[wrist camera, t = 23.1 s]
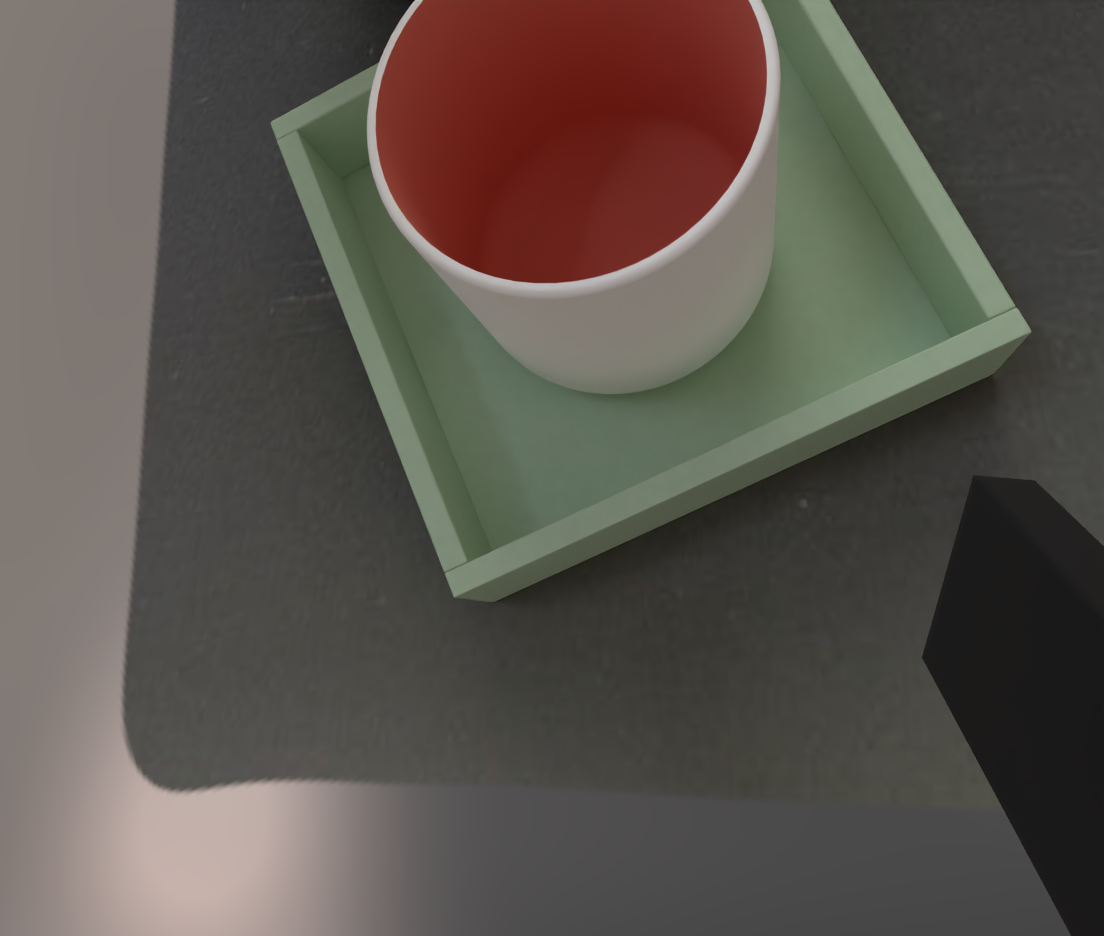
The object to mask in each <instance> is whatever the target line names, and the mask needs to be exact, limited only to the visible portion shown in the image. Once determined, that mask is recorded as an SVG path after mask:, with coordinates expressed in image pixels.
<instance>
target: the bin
mask: <svg viewBox="0 0 1104 936" xmlns="http://www.w3.org/2000/svg"><path fill="white" fill-rule="evenodd" d="M761 1H762V3H763V5H764V7H765V9H766V11H767V13H768V15H769V18H770V21H771V24H772V27H773V29H774V33H775V37H776V41H777V46H778V52H779V58H780V73H781V84H780V110H779V135H778V161H777V186H776V209H775V232H774V251H773V258H772V264H771V268H770V272H769V277H768V280H767V283H766V285H765V288H764V291H763V293H762V296H761V298H760V300H759V302H758V304H757V306H756V308H755V310H754V311H753V313H752V315H751V317H750V318H749V320H748V321H747V323H746V324H745V325H744V327H743V328H742V329H741V331H740V332H739V333H738V334H737V336H736V337H735V338H734V339H733V340H732V341H731V342H730V343H729V344H728V345H727V346H726V347H725V348H724V349H723V350H722V351H721V352H720V353H719V354H718V355H716V356H715V357H714V358H713V359H711V360H710V361H709V362H707V363H706V364H705V365H703V366H702V367H700V368H699V369H697V370H695V371H694V372H692V373H690V374H688V375H687V376H685V377H682V378H680V379H678V380H676V381H674V382H672V383H669V384H666V385H663V386H660V387H657V388H653V389H649V390H645V391H641V392H634V393H626V394H598V393H588V392H582V391H578V390H574V389H569V388H566V387H563V386H560V385H558V384H555V383H552V382H550V381H548V380H546V379H544V378H542V377H540V376H538V375H536V374H534V373H533V372H531V371H530V370H528V369H527V368H525V367H524V366H523V365H521V364H520V363H519V362H518V361H516V360H515V359H514V358H513V357H512V356H511V355H510V354H509V353H508V352H507V351H506V350H505V349H504V348H503V347H502V346H501V345H500V344H499V343H498V342H497V340H496V339H495V338H494V337H493V336H492V335H491V334H490V333H489V331H488V330H487V329H486V328H485V327H484V326H483V325H482V323H481V322H480V321H479V320H478V319H477V318H476V317H475V316H474V314H473V313H472V312H471V311H470V310H469V309H468V308H467V306H466V305H465V304H464V303H463V302H462V301H461V300H460V299H459V297H458V296H457V295H456V294H455V293H454V292H453V291H452V290H451V288H450V287H449V286H448V285H447V284H446V283H445V282H444V281H443V279H442V278H441V277H440V276H439V275H438V274H437V273H436V272H435V270H434V269H433V268H432V267H431V266H430V265H429V264H428V263H427V261H426V260H425V259H424V258H423V257H422V256H421V255H420V253H419V252H418V251H417V250H416V249H415V248H414V247H413V246H412V244H411V243H410V242H409V241H408V240H407V239H406V237H405V236H404V235H403V234H402V233H401V231H400V230H399V229H398V227H397V226H396V224H395V223H394V221H393V220H392V218H391V217H390V215H389V213H388V211H387V209H386V207H385V206H384V204H383V202H382V199H381V197H380V194H379V192H378V189H377V187H376V183H375V180H374V177H373V174H372V170H371V165H370V161H369V153H368V146H367V114H368V106H369V98H370V93H371V89H372V84H373V80H374V77H375V74H376V70H377V67H378V64H379V63H377V64H375V65H373V66H372V67H370V68H368V69H366V70H364V71H362V72H361V73H359V74H357V75H355V76H353V77H352V78H350V79H348V80H346V81H344V82H342V83H341V84H339V85H337V86H335V87H333V88H332V89H330V90H328V91H326V92H324V93H322V94H321V95H319V96H317V97H315V98H313V99H312V100H310V101H308V102H306V103H304V104H302V105H301V106H299V107H297V108H295V109H293V110H292V111H290V112H288V113H286V114H284V115H282V116H281V117H279V118H277V119H275V120H273V121H272V122H271V126H272V129H273V131H274V134H275V137H276V139H277V140H278V141H277V142H278V145H279V148H280V150H281V153H282V155H283V158H284V160H285V163H286V166H287V168H288V171H289V173H290V176H291V178H292V181H293V184H294V186H295V189H296V191H297V194H298V197H299V199H300V202H301V204H302V207H303V209H304V212H305V215H306V217H307V220H308V222H309V225H310V227H311V230H312V233H313V235H314V238H315V240H316V243H317V246H318V248H319V251H320V253H321V256H322V258H323V261H324V264H325V266H326V269H327V271H328V274H329V276H330V279H331V282H332V284H333V287H334V289H335V292H336V295H337V297H338V300H339V302H340V305H341V307H342V310H343V313H344V315H345V318H346V320H347V323H348V326H349V328H350V331H351V333H352V336H353V338H354V341H355V344H356V346H357V349H358V351H359V354H360V356H361V359H362V362H363V364H364V367H365V369H366V372H367V375H368V377H369V380H370V382H371V385H372V387H373V390H374V393H375V395H376V398H377V400H378V403H379V405H380V408H381V411H382V413H383V416H384V418H385V421H386V424H387V426H388V429H389V431H390V434H391V436H392V439H393V442H394V444H395V447H396V449H397V452H398V454H399V457H400V460H401V462H402V465H403V467H404V470H405V473H406V475H407V478H408V480H409V483H410V485H411V488H412V491H413V493H414V496H415V498H416V501H417V503H418V506H419V509H420V511H421V514H422V516H423V519H424V522H425V524H426V527H427V529H428V532H429V534H430V537H431V540H432V542H433V545H434V547H435V550H436V553H437V555H438V558H439V560H440V563H441V565H442V568H443V571H444V572H445V576H446V579H447V581H448V584H449V586H450V589H451V591H452V594H453V597H454V598H462V599H470V600H478V601H486V602H495V601H497V600H500V599H502V598H504V597H506V596H508V595H511V594H513V593H515V592H517V591H519V590H521V589H524V588H526V587H528V586H530V585H532V584H535V583H537V582H539V581H541V580H543V579H546V578H548V577H550V576H552V575H554V574H557V573H559V572H561V571H563V570H565V569H567V568H570V567H572V566H574V565H576V564H578V563H581V562H583V561H585V560H587V559H589V558H592V557H594V556H596V555H598V554H600V553H603V552H605V551H607V550H609V549H611V548H613V547H616V546H618V545H620V544H622V543H624V542H627V541H629V540H631V539H633V538H635V537H638V536H640V535H642V534H644V533H646V532H649V531H651V530H653V529H655V528H657V527H659V526H662V525H664V524H666V523H668V522H670V521H673V520H675V519H677V518H679V517H681V516H684V515H686V514H688V513H690V512H692V511H695V510H697V509H699V508H701V507H703V506H705V505H708V504H710V503H712V502H714V501H716V500H719V499H721V498H723V497H725V496H727V495H730V494H732V493H734V492H736V491H738V490H740V489H743V488H745V487H747V486H749V485H751V484H754V483H756V482H758V481H760V480H762V479H765V478H767V477H769V476H771V475H773V474H776V473H778V472H780V471H782V470H784V469H786V468H789V467H791V466H793V465H795V464H797V463H800V462H802V461H804V460H806V459H808V458H811V457H813V456H815V455H817V454H819V453H822V452H824V451H826V450H828V449H830V448H832V447H835V446H837V445H839V444H841V443H843V442H846V441H848V440H850V439H852V438H854V437H857V436H859V435H861V434H863V433H865V432H868V431H870V430H872V429H874V428H876V427H878V426H881V425H883V424H885V423H887V422H889V421H892V420H894V419H896V418H898V417H900V416H903V415H905V414H907V413H909V412H911V411H914V410H916V409H918V408H920V407H922V406H924V405H927V404H929V403H931V402H933V401H935V400H938V399H940V398H942V397H944V396H946V395H949V394H951V393H953V392H955V391H957V390H959V389H962V388H964V387H966V386H968V385H970V384H973V383H975V382H977V381H979V380H981V379H984V378H986V377H988V376H990V375H992V374H994V372H995V371H996V370H997V369H998V368H999V367H1000V366H1001V365H1002V364H1003V363H1004V362H1005V361H1006V360H1007V359H1008V357H1009V356H1010V355H1011V354H1012V353H1013V352H1014V351H1015V350H1016V349H1017V347H1018V346H1019V345H1020V344H1021V343H1022V342H1023V341H1024V340H1025V339H1026V338H1027V336H1028V335H1029V334H1030V333H1031V329H1030V328H1029V326H1028V324H1027V323H1026V321H1025V319H1024V318H1023V316H1022V314H1021V313H1020V311H1019V310H1018V308H1015V304H1014V303H1013V301H1012V299H1011V298H1010V296H1009V294H1008V293H1007V291H1006V290H1005V288H1004V286H1003V285H1002V283H1001V281H1000V280H999V278H998V276H997V275H996V273H995V271H994V270H993V268H992V267H991V265H990V263H989V262H988V260H987V258H986V257H985V255H984V253H983V252H982V250H981V248H980V247H979V245H978V244H977V242H976V240H975V239H974V237H973V235H972V234H971V232H970V230H969V229H968V227H967V225H966V224H965V222H964V221H963V219H962V217H961V216H960V214H959V212H958V211H957V209H956V207H955V206H954V204H953V203H952V201H951V199H950V198H949V196H948V194H947V193H946V191H945V189H944V188H943V186H942V184H941V183H940V181H939V180H938V178H937V176H936V175H935V173H934V171H933V170H932V168H931V166H930V165H929V163H928V161H927V160H926V158H925V157H924V155H923V153H922V152H921V150H920V148H919V147H918V145H917V143H916V142H915V140H914V138H913V137H912V135H911V134H910V132H909V130H908V129H907V127H906V125H905V124H904V122H903V120H902V119H901V117H900V115H899V114H898V112H897V111H896V109H895V107H894V106H893V104H892V102H891V101H890V99H889V97H888V96H887V94H886V93H885V91H884V89H883V88H882V86H881V84H880V83H879V81H878V79H877V78H876V76H875V74H874V73H873V71H872V70H871V68H870V66H869V65H868V63H867V61H866V60H865V58H864V56H863V55H862V53H861V51H860V50H859V48H858V47H857V45H856V43H855V42H854V40H853V38H852V37H851V35H850V33H849V32H848V30H847V28H846V27H845V25H844V24H843V22H842V20H841V19H840V17H839V15H838V14H837V12H836V10H835V9H834V7H833V6H832V4H831V2H830V1H829V0H761Z"/></svg>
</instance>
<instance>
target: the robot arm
mask: <svg viewBox="0 0 1104 936" xmlns="http://www.w3.org/2000/svg"><path fill="white" fill-rule="evenodd" d="M922 658H923V660H924V662H925V664H926V666H927V668H928V670H929V671H930V673H931V675H932V677H933V679H934V681H935V683H936V685H937V686H938V688H939V690H940V692H941V694H942V696H943V698H944V699H945V701H946V703H947V705H948V707H949V709H950V711H951V712H952V714H953V716H954V718H955V720H956V722H957V724H958V726H959V727H960V729H961V731H962V733H963V735H964V737H965V739H966V740H967V742H968V744H969V746H970V748H971V750H972V752H973V753H974V755H975V757H976V759H977V761H978V763H979V765H980V767H981V768H982V770H983V772H984V774H985V776H986V778H987V780H988V781H989V783H990V785H991V787H992V789H993V791H994V793H995V795H996V796H997V798H998V800H999V802H1000V804H1001V806H1002V808H1003V809H1004V811H1005V813H1006V815H1007V817H1008V819H1009V821H1010V822H1011V824H1012V826H1013V828H1014V830H1015V832H1016V834H1017V835H1018V837H1019V839H1020V841H1021V843H1022V845H1023V847H1024V849H1025V850H1026V852H1027V854H1028V856H1029V858H1030V859H1031V862H1032V863H1033V865H1034V867H1035V869H1036V871H1037V873H1038V875H1039V876H1040V878H1041V880H1042V882H1043V884H1044V886H1045V888H1046V890H1047V891H1048V893H1049V895H1050V897H1051V899H1052V901H1053V903H1054V904H1055V906H1056V908H1057V910H1058V912H1059V914H1060V916H1061V918H1062V919H1063V921H1064V923H1065V925H1066V927H1067V929H1068V931H1069V932H1070V934H1071V936H1104V546H1103V545H1102V544H1101V543H1100V542H1099V541H1098V540H1096V539H1095V538H1094V537H1093V536H1092V535H1091V534H1090V533H1089V532H1088V531H1087V530H1086V529H1085V528H1084V527H1083V526H1082V525H1081V524H1080V523H1079V522H1078V521H1077V520H1076V519H1075V518H1073V517H1072V516H1071V515H1070V514H1069V513H1068V512H1067V511H1066V510H1065V509H1064V508H1063V507H1062V506H1061V505H1060V504H1059V503H1058V502H1057V501H1056V500H1055V499H1054V498H1053V497H1052V496H1050V495H1049V494H1048V493H1047V492H1046V491H1045V490H1044V489H1043V488H1042V487H1041V486H1040V485H1039V484H1038V483H1037V482H1036V481H1032V480H1021V479H1009V478H997V477H986V476H974V475H973V479H972V482H971V486H970V489H969V493H968V497H967V500H966V504H965V507H964V511H963V514H962V518H961V521H960V525H959V528H958V532H957V535H956V539H955V543H954V546H953V550H952V553H951V557H950V560H949V564H948V567H947V571H946V574H945V578H944V582H943V585H942V589H941V592H940V596H939V599H938V603H937V606H936V610H935V613H934V617H933V620H932V624H931V628H930V631H929V635H928V638H927V642H926V645H925V649H924V652H923V656H922Z"/></svg>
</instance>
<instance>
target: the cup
mask: <svg viewBox="0 0 1104 936" xmlns="http://www.w3.org/2000/svg"><path fill="white" fill-rule="evenodd" d="M780 84H781V73H780V58H779V52H778V46H777V41H776V37H775V33H774V29H773V27H772V24H771V21H770V18H769V15H768V13H767V11H766V9H765V7H764V5H763V3H762V1H761V0H415V1H414V2H413V3H412V4H411V6H410V7H409V8H408V10H407V11H406V13H405V14H404V16H403V17H402V18H401V20H400V22H399V23H398V25H397V27H396V28H395V30H394V32H393V33H392V35H391V37H390V39H389V41H388V43H387V45H386V47H385V49H384V52H383V54H382V57H381V59H380V62H379V64H378V67H377V70H376V74H375V77H374V80H373V84H372V89H371V93H370V98H369V106H368V114H367V146H368V153H369V161H370V165H371V170H372V174H373V177H374V180H375V183H376V187H377V189H378V192H379V194H380V197H381V199H382V202H383V204H384V206H385V207H386V209H387V211H388V213H389V215H390V217H391V218H392V220H393V221H394V223H395V224H396V226H397V227H398V229H399V230H400V231H401V233H402V234H403V235H404V236H405V237H406V239H407V240H408V241H409V242H410V243H411V244H412V246H413V247H414V248H415V249H416V250H417V251H418V252H419V253H420V255H421V256H422V257H423V258H424V259H425V260H426V261H427V263H428V264H429V265H430V266H431V267H432V268H433V269H434V270H435V272H436V273H437V274H438V275H439V276H440V277H441V278H442V279H443V281H444V282H445V283H446V284H447V285H448V286H449V287H450V288H451V290H452V291H453V292H454V293H455V294H456V295H457V296H458V297H459V299H460V300H461V301H462V302H463V303H464V304H465V305H466V306H467V308H468V309H469V310H470V311H471V312H472V313H473V314H474V316H475V317H476V318H477V319H478V320H479V321H480V322H481V323H482V325H483V326H484V327H485V328H486V329H487V330H488V331H489V333H490V334H491V335H492V336H493V337H494V338H495V339H496V340H497V342H498V343H499V344H500V345H501V346H502V347H503V348H504V349H505V350H506V351H507V352H508V353H509V354H510V355H511V356H512V357H513V358H514V359H515V360H516V361H518V362H519V363H520V364H521V365H523V366H524V367H525V368H527V369H528V370H530V371H531V372H533V373H534V374H536V375H538V376H540V377H542V378H544V379H546V380H548V381H550V382H552V383H555V384H558V385H560V386H563V387H566V388H569V389H574V390H578V391H582V392H588V393H598V394H626V393H634V392H641V391H645V390H649V389H653V388H657V387H660V386H663V385H666V384H669V383H672V382H674V381H676V380H678V379H680V378H682V377H685V376H687V375H688V374H690V373H692V372H694V371H695V370H697V369H699V368H700V367H702V366H703V365H705V364H706V363H707V362H709V361H710V360H711V359H713V358H714V357H715V356H716V355H718V354H719V353H720V352H721V351H722V350H723V349H724V348H725V347H726V346H727V345H728V344H729V343H730V342H731V341H732V340H733V339H734V338H735V337H736V336H737V334H738V333H739V332H740V331H741V329H742V328H743V327H744V325H745V324H746V323H747V321H748V320H749V318H750V317H751V315H752V313H753V311H754V310H755V308H756V306H757V304H758V302H759V300H760V298H761V296H762V293H763V291H764V288H765V285H766V283H767V280H768V277H769V272H770V268H771V264H772V258H773V251H774V232H775V209H776V186H777V161H778V135H779V110H780Z"/></svg>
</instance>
